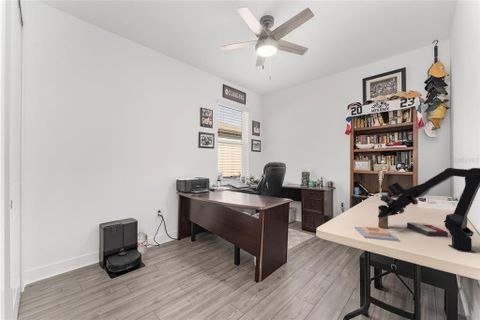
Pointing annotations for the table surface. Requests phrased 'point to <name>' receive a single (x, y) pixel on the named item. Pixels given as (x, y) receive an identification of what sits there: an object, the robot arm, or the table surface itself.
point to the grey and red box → (427, 229)
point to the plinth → (375, 233)
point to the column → (383, 222)
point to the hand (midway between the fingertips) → (380, 216)
